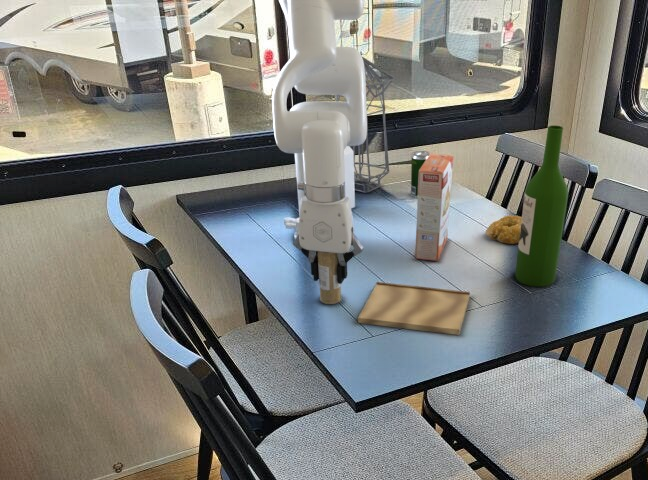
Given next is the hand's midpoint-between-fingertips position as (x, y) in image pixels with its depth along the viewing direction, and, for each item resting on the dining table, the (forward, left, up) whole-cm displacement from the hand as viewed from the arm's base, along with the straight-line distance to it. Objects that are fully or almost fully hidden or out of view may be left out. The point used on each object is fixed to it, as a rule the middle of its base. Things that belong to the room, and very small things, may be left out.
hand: (329, 278), depth 139 cm
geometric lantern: (-12, +71, -5) cm, 72 cm away
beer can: (+6, +68, -5) cm, 68 cm away
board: (+18, 0, -5) cm, 19 cm away
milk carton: (-14, +52, -5) cm, 54 cm away
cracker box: (+16, +31, -5) cm, 35 cm away
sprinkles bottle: (0, 0, -5) cm, 5 cm away
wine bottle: (+41, +21, -5) cm, 46 cm away
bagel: (+33, +43, -5) cm, 54 cm away
